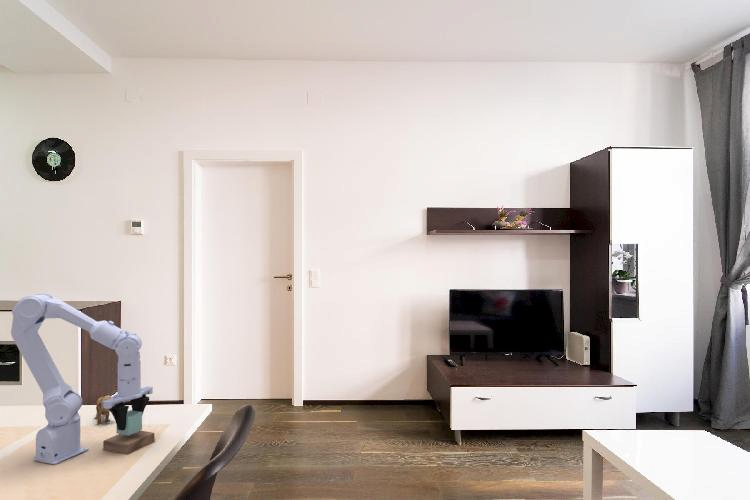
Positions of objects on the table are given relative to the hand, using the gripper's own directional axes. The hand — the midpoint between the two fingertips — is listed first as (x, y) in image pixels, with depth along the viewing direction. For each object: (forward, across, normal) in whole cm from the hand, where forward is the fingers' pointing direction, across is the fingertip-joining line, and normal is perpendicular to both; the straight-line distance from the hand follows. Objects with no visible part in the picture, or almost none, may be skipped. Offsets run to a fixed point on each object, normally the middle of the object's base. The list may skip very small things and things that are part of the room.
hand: (129, 426), depth 127 cm
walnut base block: (+5, 0, 0) cm, 5 cm away
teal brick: (+1, 0, 0) cm, 1 cm away
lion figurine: (+6, +13, +26) cm, 29 cm away
